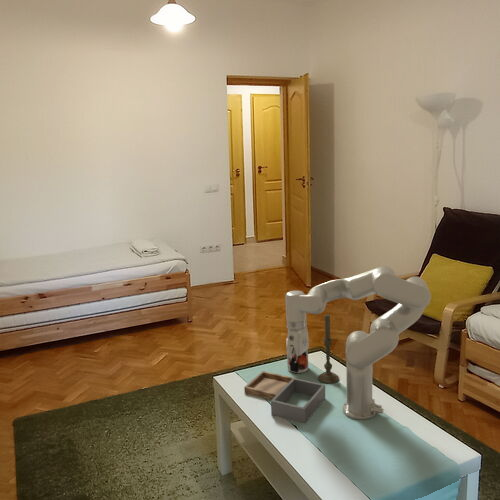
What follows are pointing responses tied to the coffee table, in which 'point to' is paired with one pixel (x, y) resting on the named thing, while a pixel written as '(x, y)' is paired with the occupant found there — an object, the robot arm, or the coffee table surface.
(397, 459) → the coffee table surface
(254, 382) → the tray
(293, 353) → the supplement tub
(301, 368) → the pomegranate
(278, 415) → the grey open box
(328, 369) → the candlestick holder
